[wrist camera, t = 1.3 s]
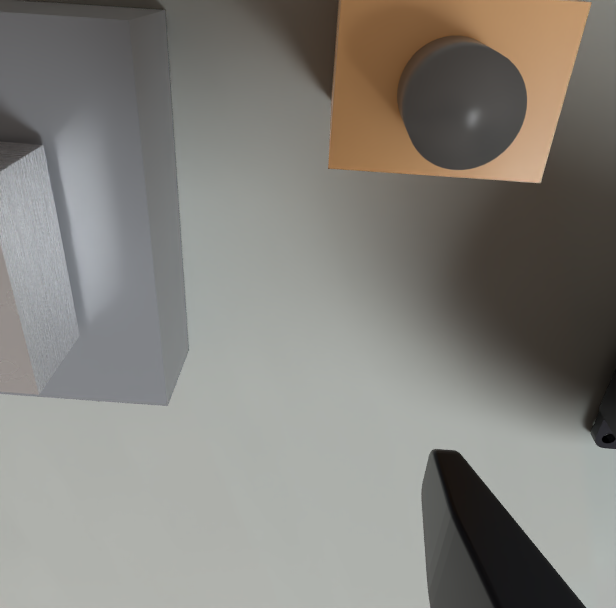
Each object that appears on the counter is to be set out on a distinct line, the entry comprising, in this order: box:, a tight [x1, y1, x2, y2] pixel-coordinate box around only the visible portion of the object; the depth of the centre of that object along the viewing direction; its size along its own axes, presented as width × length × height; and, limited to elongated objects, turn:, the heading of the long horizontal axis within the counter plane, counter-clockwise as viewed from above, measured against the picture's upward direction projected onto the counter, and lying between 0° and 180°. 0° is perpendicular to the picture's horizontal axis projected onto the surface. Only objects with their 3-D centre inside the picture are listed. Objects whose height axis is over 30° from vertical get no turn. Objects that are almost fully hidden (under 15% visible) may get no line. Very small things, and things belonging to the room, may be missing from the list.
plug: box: [328, 0, 591, 183], centre depth 12 cm, size 4×3×8 cm
